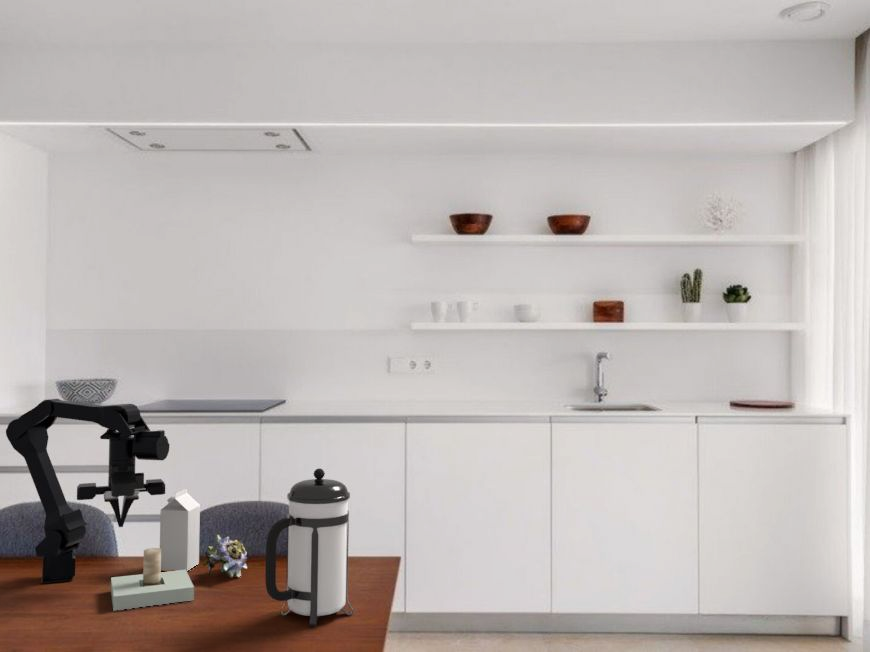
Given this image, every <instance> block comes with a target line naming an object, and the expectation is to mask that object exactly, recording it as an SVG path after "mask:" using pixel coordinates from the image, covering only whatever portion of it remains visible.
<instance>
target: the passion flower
mask: <svg viewBox="0 0 870 652" xmlns="http://www.w3.org/2000/svg"><path fill="white" fill-rule="evenodd" d="M215 536H216V541H217V544H215V547H216V548H215V549H214V546H208V547H207V549H206V550H205V551H204V555H205V556H206V558H207V559H206V560H204V562H203V563H202V566H203V567H204V566H206V565H208V574H209V573H211V570H212V569H213V568H215V566H216V564H218V563H219V562H220V563H221V565H220V568H219V569H220V571H221V572H222V573H224V572H226V574H227V577H229V578H231V579H233V577H234V578H235V577H240V576H241V577H242V571H241V570H248V566H247V563H246V562H247V561H248V560H247V559H248V557H247V554H248V552H247V551H246V548H245V547H244V544H243V540H241V539H240V540H239V541H238V540H237V539H235V540H234V539H230V537H229V536H227V537H226V536H224V538H222V537H221V535H219V534H216V535H215ZM241 577H240V578H241Z"/></svg>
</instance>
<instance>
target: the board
mask: <svg viewBox="0 0 870 652" xmlns="http://www.w3.org/2000/svg"><path fill="white" fill-rule="evenodd" d="M110 594H111V595H110V596H112V597H111V603H112V609H113V612H117V610H118V611H125V610H124V609H127V610H133V609H132V608H135V609H140V608H139V607H143V608H147V607H146V606H151V607H154V606H153V605H159V606H163V605H162V604H167V605H170V604H169V603H175V602H183V601H191V600H195V586H194V584H193V582H192V580H191V578H190V576H189V572H187V571H186V570H177V571H167V572H161V583H160V585H153V586H144V587H143V573H141V574H132V575H131V574H130V575H123V576H122V575H121V576H114V577H110ZM191 602H192V601H191ZM183 603H184V602H183ZM175 604H176V603H175Z"/></svg>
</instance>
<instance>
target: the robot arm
mask: <svg viewBox="0 0 870 652" xmlns="http://www.w3.org/2000/svg"><path fill="white" fill-rule="evenodd" d="M58 418H61V419H69V420H76V421H77V420H78V421H83V422H90V423H95V424H97V425H99V426H100V427H102V428H105V429H107V430H106V431H105V432H103V434H102V435H100V436H99V438H100V440H108V476H107V477H108V480H107V484H108V485H104V486H103V485H99V486H97V485H96V484H97V483H96V482H86V483H85V482H84V483H78V485H77V487H76V500H77V501H83V500H84V501H85V500H93V499H94V498H95V497H97V496H98V495H99V496H100V495H103V499H104V503H105V502H106V503H109V504H110V506H111V508H112V510H113V512H114V515H115V519H116V521H117V526H118V528H123V527H124V524H125V522H126V518H127V516H128V513H129V510H130V509H131V506H132V504H134V501H137V500H138V501H139V499H140V496H139V494H140V493H145V492H147V493H148V494H149V495H150V496H160V495H165V494H166V483H165V481H164V480H163V479H162V478H156V479H153V478H152V479H145V473H144V472H136V459H138V460H142V461H164V460H166V459H167V457H168V455H169V451H170V442H169V440H168V437H167V436H166V435H165V434H166V433H165V432H166V431H165V430H163V429H162V430H161V429H158V430H150V427H149V426H148V424H147V423H146V421H145V420H144V418H143V417H142V415H141V412H140V409H139V408H138V406H137V405H135V404H134V403H121V404H110V405H109V404H108V405H100V404H92V403H85V402H78V401H71V400H70V401H69V400H61V399H60V398H52V399H51V398H49V399H44V400H42V401H40V403H38V404H37V405H36V406H35V407H33V408H32V409H30V410H28V411H27V412H25V413H24V414H22V415H20V416H19V417H18V418H15V419H12V421H10V422H9V423H8V424H7V428H6V429H5V434H6V435H5V436H6V438H7V441H8V442H9V443H10V445H11V446H12V448H13V449H14V450H15V451H16V452H17V453H18V454H19V455H20V456H22V458H23V459H24V462H25V464H26V466H27V468H28V470H29V474H30V475H31V476H30V477H31V480H32V482H33V485H34V487H35V490H36V492H37V495H38V497H39V499H40V500H39V501H40V503H41V504H42V505H41V506H42V508H43V510H44V511H43V512H44V514H45V517H44V525H43V531H44V534H45V537H44V538H43V539H42V540H41V541H40V542H39V543H38V544H37V545H36V546H35V548H34V549H35V553H36V556H37V557H39V558H40V557H41V558H42V571H41V573H42V575H41V581H40V583H42V585H43V584H51V583H52V584H54V583H53V582H55V583H62V582H63V581H64V582H72V581H73V580H74V577H75V576H76V555H74V553H73V552H74V550H76V549H78V548H79V546H80V543H81V541H83V539H84V538H85V535H86V533H87V531H86V530H87V529H86V525H87V522H86V521H85V519H84V517H83V512H82V511H81V509H80V508H77V509H72V508H71V506H69V505H68V502H67V499H66V497H65V494H64V492H63V489H62V487H61V484H60V481H59V479H58V477H57V474H56V472H55V468H54V466H53V464H52V460H51V459H50V456H49V453H48V449H47V448H48V443H49V433H48V429H50V428H51V426H53V425H54V424H55V422H56V420H57V419H58ZM119 497H123V498H122V506H121V510H120V501H119ZM71 580H72V581H71Z"/></svg>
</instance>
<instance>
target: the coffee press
mask: <svg viewBox="0 0 870 652" xmlns="http://www.w3.org/2000/svg"><path fill="white" fill-rule="evenodd" d="M313 471H314V472H313V477H314V479H313V478H312V479H305V480H301V481H298V482H296V483H295V484H294V485H292V487H291V488H290V489H289V492H288V493H287V496H286V497H287V498H286V499H287V501H288V512H287V517H284V518H282V519H279V520H278V521H276V522H275V523H274V524H273V525H272V527H271V529H270V530H269V532H268V534H267V535H268V536H267V538H266V545H265V548H266V549H265V588H266V591H267V594H268V596H269V597H270V598H271V599H273V600H276V601H280V602H284V601H285V603H284V604H283V605H282V607H281V609H280V610H279V611H280V612H279V614H280V615H281V616H283V617H285V616H287V615H288V614H289V613H290V612H293V613H295V614H298V615H301V616H307V617H309V627H311V628H315V627H316V628H317V626H318V619H319V617H321V616H322V617H323V616H328V615H331V614H335V613H337V612H339V611H342V612H343V613H344V614H345V615H346V616H348V617H349V616H352V615H353V613H354V607H353V606H352V605H351V603H350V602H349V598H348V597H349V596H348V595H349V591H348V590H349V589H348V588H349V581H348V580H349V535H350V534H349V532H350V531H349V528H350V526H349V525H350V523H349V522H350V519H349V517H350V512H349V500H350V497H351V493H350V492H349V491H348V488H347V487H346V484H344V483H343V482H341V481H338V480H335V479H327V478H324V477H325V475H326V473H325V471H324V470H323V469H322V468H316V469H315V470H313ZM285 529H287V532H286V533H287V537H286V538H287V540H286V590H284V591H279V589H278V587H277V582H276V581H277V580H276V578H277V576H276V574H277V543H278V542H277V541H278V539H279V538H278V537H279V535H280V534H281V532H282V531H283V530H285ZM346 604H347V605H348V607H349V608H350V610H351V612H348V611H347V610H346V609H345V608H344V607H345V606H346ZM286 605H287V606H288V608H289V610H288V611H286V612H283V609H284V608H285V606H286Z"/></svg>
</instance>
